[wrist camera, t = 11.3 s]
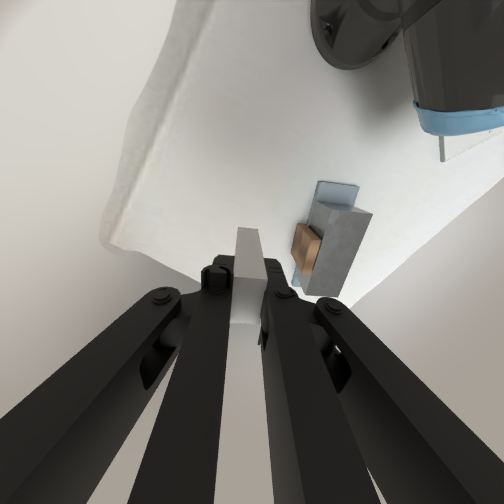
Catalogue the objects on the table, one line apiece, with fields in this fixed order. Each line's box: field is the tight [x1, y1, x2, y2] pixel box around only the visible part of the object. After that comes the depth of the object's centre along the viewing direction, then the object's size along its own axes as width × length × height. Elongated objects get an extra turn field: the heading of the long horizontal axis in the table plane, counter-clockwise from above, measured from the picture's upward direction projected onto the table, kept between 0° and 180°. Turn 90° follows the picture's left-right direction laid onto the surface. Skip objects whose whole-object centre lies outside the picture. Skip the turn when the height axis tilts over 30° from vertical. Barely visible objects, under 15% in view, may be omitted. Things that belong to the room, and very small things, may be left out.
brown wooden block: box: [291, 224, 321, 275], centre depth 41 cm, size 8×12×10 cm
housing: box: [292, 181, 373, 297], centre depth 42 cm, size 28×9×10 cm, turn 173°
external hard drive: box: [439, 126, 504, 162], centre depth 36 cm, size 2×8×12 cm
